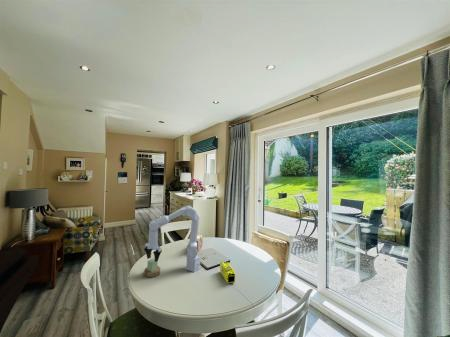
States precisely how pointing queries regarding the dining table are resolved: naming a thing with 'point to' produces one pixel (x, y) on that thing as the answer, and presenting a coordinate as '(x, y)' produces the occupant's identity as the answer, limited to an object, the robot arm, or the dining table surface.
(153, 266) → the sage block
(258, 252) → the dining table surface
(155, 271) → the walnut plinth
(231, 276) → the yellow toy chassis
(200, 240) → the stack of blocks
